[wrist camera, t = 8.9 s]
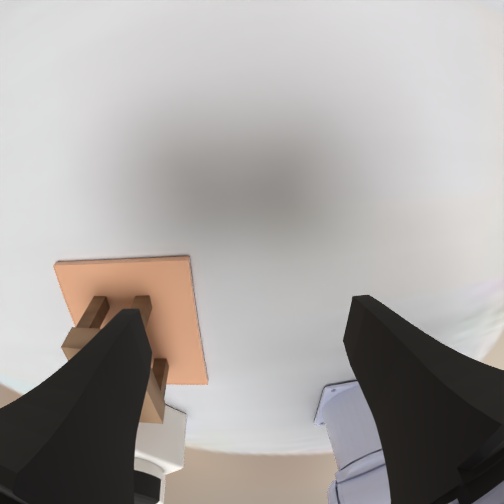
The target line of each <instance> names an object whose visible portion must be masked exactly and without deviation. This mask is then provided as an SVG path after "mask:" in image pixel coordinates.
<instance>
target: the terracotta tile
mask: <svg viewBox="0 0 504 504" xmlns="http://www.w3.org/2000/svg"><path fill="white" fill-rule="evenodd" d="M53 267H54V270H55V273H56V276H57V279H58V282H59V285H60V288H61V291H62V294H63V296H64V299H65V302H66V304H67V307H68V310H69V312H70V315H71V317H72V319H73V322H74V324H75V327H76V326H77V324H78V322H79V321H80V319H81V317H82V315H83V314H84V312H85V310H86V309H87V307H88V305H89V304H90V302H91V300H92V299H93V297H94V296H106V297H107V301H108V304H109V307H110V309H109V311H108V313H107V315H106V317H105V319H104V321H103V323H102V325H101V327H100V329H102V328H103V327H104V326H105V325H106V324H107V323H108V322H109V321H110V320H111V319H112V318H113V317H114V316H115V315H116V314H117V313H118V312H120V311H121V310H122V309H130V308H131V305H132V303H133V301H134V298H135V296H142V295H150V300H151V304H152V311H151V314H150V317H149V320H148V323H147V326H146V329H145V331H146V334H147V337H148V340H149V344H150V347H151V350H152V359H151V368H152V367H153V363H154V358H167V361H168V365H169V371H168V377H167V383H166V384H175V385H208V376H207V371H206V366H205V360H204V354H203V348H202V342H201V336H200V330H199V324H198V317H197V310H196V304H195V296H194V289H193V282H192V274H191V266H190V258H189V256H182V257H159V258H137V259H114V260H91V261H68V262H56V263H55V264H54V265H53Z"/></svg>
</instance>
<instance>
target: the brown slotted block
mask: <svg viewBox="0 0 504 504" xmlns="http://www.w3.org/2000/svg"><path fill="white" fill-rule="evenodd" d="M109 309H110V307H109V304H108V301H107V297H106V296H94V297H93V299H92V300H91V302H90V304H89V305H88V307H87V309H86V310H85V312H84V314H83V315H82V317H81V319H80V321H79V322H78V324H77V326H76V328H75V327H72V328H71V330H70V332H69V334H68V335H67V337H66V339H65V341H64V343H63V345H62V346H61V348H62V350H63V352H64V354H65V356H66V357H67V359H68V361H69V360H70V359H71V358H72V357H73V356H74V355H75V354H77V353H78V352H79V351H80V350H81V349H82V348H83V347H84V346H85V345H86V344H87V343H88V342H89V341H90V340H91V339H92V338H93V337H94V336H95V335H96V334H97V333H98V332H99V331H100V330H101V329H100V327H101V325H102V323H103V321H104V319H105V317H106V315H107V313H108V311H109ZM130 309H139V310H140V313H141V317H142V321H143V324H144V327H145V329H146V326H147V323H148V320H149V317H150V314H151V311H152V304H151V300H150V295H142V296H135V298H134V301H133V303H132V305H131V308H130ZM168 371H169V365H168V361H167V358H154V363H153V367H152V368H151V369H150V377H149V381H148V386H147V390H146V394H145V399H144V403H143V407H142V411H141V416H140V420H139V422H142V423H156V424H163V420H164V413H165V405H166V403H165V401H164V396H165V389H166V383H167V377H168Z"/></svg>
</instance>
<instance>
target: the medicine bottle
mask: <svg viewBox="0 0 504 504" xmlns="http://www.w3.org/2000/svg"><path fill="white" fill-rule="evenodd" d="M186 419H187V416H186V414H184V413H182V412H180V411H177V410H175V409H173V408H171V407H169V406H167V405H165V413H164V420H163V424H156V423H142V422H139V425H138V429H137V436H136V443H135V458H134V504H164V492H165V491H164V490H165V475H166V474H168V473H172V472H174V471H177V470H180V469H182V468H183V467H184V450H185V434H186Z"/></svg>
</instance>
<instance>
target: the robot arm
mask: <svg viewBox="0 0 504 504" xmlns="http://www.w3.org/2000/svg"><path fill="white" fill-rule="evenodd" d="M343 342H344V345H345V349H346V352H347V356H348V359H349V362H350V365H351V367H352V370H353V372H354V374H355V376H356V379H357V381H355V382H349V383H344V384H338V385H332V386H327V387H325V388H324V390H323V393H322V397H321V400H320V404H319V407H318V411H317V414H316V417H315V421H314V425H316V426H318V425H324V424H326V428H327V431H328V435H329V438H330V442H331V445H332V449H333V452H334V456H335V459H336V463H337V466H338V470H339V472H336V473H335V477H336V480H335V481H333V482H332V483H331V485H330V487H329V488H328V493H327V496H328V504H504V370H500V369H497V368H495V367H492V366H489V365H486V364H484V363H481V362H479V361H476V360H474V359H472V358H469V357H467V356H465V355H463V354H461V353H459V352H457V351H455V350H453V349H451V348H449V347H448V346H446V345H444V344H442V343H440V342H439V341H437V340H436V339H434V338H432V337H431V336H429V335H427V334H426V333H424V332H423V331H421V330H420V329H418V328H417V327H415V326H414V325H412V324H411V323H409V322H408V321H406V320H405V319H404V318H402V317H401V316H399V315H398V314H396V313H395V312H394V311H392V310H391V309H389V308H388V307H386V306H385V305H384V304H382V303H381V302H379V301H378V300H376V299H375V298H373V297H371V296H370V295H361V296H353V297H352V302H351V307H350V312H349V317H348V321H347V326H346V330H345V334H344V339H343ZM151 359H152V350H151V347H150V344H149V340H148V337H147V334H146V331H145V327H144V324H143V321H142V317H141V313H140V310H139V309H122V310H121V311H120V312H118V313H117V314H116V315H115V316H114V317H113V318H112V319H111V320H110V321H109V322H108V323H107V324H106V325H105V326H104V327H103V328H102V329H101V330H100V331H99V332H98V333H97V334H96V335H95V336H94V337H93V338H92V339H91V340H90V341H89V342H88V343H87V344H86V345H85V346H84V347H83V348H82V349H81V350H80V351H79V352H78V353H77V354H75V355H74V356H73V357H72V358H71V359H70V360H69V361H68V362H67V363H66V364H65V365H64V366H62V367H61V368H60V369H59V370H58V371H56V372H55V373H54V374H53V375H51V376H50V377H49V378H48V379H46V380H45V381H44V382H42V383H41V384H40V385H38V386H37V387H35V388H34V389H32V390H31V391H29V392H28V393H26V394H25V395H23V396H22V397H20V398H19V399H17V400H16V401H13V402H12V403H10V404H8V405H6V406H4V407H2V408H0V504H134V458H135V443H136V436H137V429H138V425H139V420H140V416H141V411H142V407H143V403H144V399H145V394H146V390H147V386H148V381H149V377H150V369H151Z"/></svg>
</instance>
